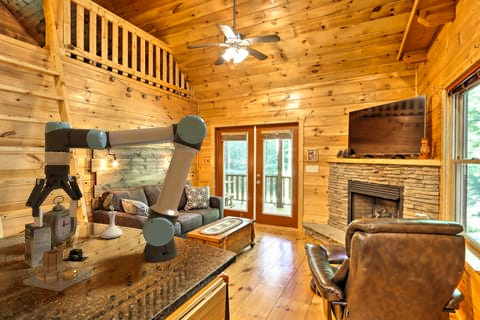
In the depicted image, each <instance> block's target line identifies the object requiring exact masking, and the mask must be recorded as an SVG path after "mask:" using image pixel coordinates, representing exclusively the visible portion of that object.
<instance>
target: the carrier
mask: <svg viewBox="0 0 480 320" xmlns="http://www.w3.org/2000/svg"><path fill="white" fill-rule="evenodd" d="M91 275H93V270H92V269H88V268H83V267H77V266H69V268H67V269H65V270H64V271H63V276H61V277H57V278H55V279H50V280H46V279H45V280H39V279H37V278H36V274H34V275H32V276H29V277H28V278H26V279H23V281H22V282H23V283H22V284H23V286H29V287H35V288H38V289H40V288H41V289H44V290H45V289H46V290H52V291H56V292H62V291H64V290H66V289H68V288H69V287H71V286H73V285H75V284H76V283H78V282H79V281H82V280H83V279H84V280H85V278H87V277H89V276H91Z"/></svg>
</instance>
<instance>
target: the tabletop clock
mask: <svg viewBox="0 0 480 320" xmlns="http://www.w3.org/2000/svg"><path fill="white" fill-rule="evenodd" d="M58 198H62V201H61V202H60V201H57V202H55V200H57V199H58ZM64 201H65V197H64V195H57V196H55V197H54V198H53V200H52V203H53V204H54V206H53V207H52V208H51V210H49V211H46V212H43V213H42V222H45V223H47V224H49V225H51V242H52V243H51V250H54V249H57V246H56V243H60V242H63V241H65V240H68V243H72V242H73V239H72V237H73V236H74V235H75V234H76V230H77V223H78V222H77V221H78V219H77V217H69V209H68V208H66V207H65V205H63V202H64Z"/></svg>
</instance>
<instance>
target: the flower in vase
mask: <svg viewBox="0 0 480 320" xmlns="http://www.w3.org/2000/svg"><path fill="white" fill-rule="evenodd" d="M112 199H113V192H111V193H110V192H109V194H108V195H107V196H106V199H104V202H103V204H102V205H103V207H107V206H108V204H109V203H110V206H109V209H110V210H111V211H107V215H108V218H109V225H108V226H107V228H105V229H104V230H102V232H100V233H99V235H100V237H101V238H103V239H114V238H119V237H120V236H122V235H123V234H124V231H123V230H122V229H121V228H119V227H118V226H116V223H115V218H116V215H117V213H118V211H114V210H115V207H114V205H113V202H112Z"/></svg>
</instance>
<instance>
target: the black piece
mask: <svg viewBox="0 0 480 320" xmlns="http://www.w3.org/2000/svg"><path fill="white" fill-rule="evenodd" d="M83 252H84V251H83V248H73V249H71V250H69V253H68V256H67V257H68V258H67V257H66V259H65V258H63V261H71V262H70V263H83V262H85V261H87V259H89V258H90V256H83V254H84V253H83Z"/></svg>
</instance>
